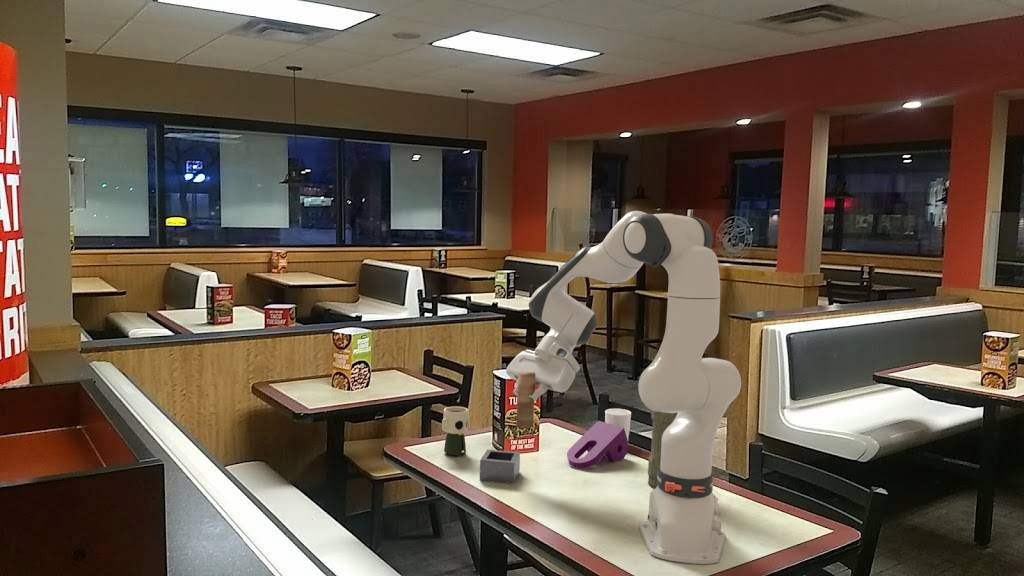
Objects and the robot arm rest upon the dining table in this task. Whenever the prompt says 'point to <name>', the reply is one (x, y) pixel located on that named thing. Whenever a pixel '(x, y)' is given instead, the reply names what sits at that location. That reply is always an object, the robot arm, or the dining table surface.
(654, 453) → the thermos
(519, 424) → the walnut post
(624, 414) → the white cup
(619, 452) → the mounting bracket
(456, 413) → the character mug
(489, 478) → the metal well
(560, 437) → the dining table surface
